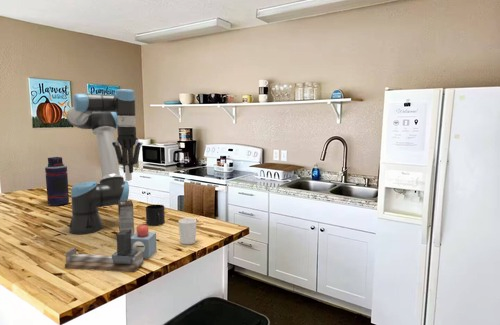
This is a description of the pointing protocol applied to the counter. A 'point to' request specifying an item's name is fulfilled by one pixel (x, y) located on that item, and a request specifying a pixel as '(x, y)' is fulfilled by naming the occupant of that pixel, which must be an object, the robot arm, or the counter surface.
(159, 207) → the mug
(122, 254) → the carriage
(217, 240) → the counter surface
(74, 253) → the rail
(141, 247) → the pale blue block
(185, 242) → the white cup
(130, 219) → the coffee box
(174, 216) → the counter surface
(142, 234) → the plunger
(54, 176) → the striped navy bottle
